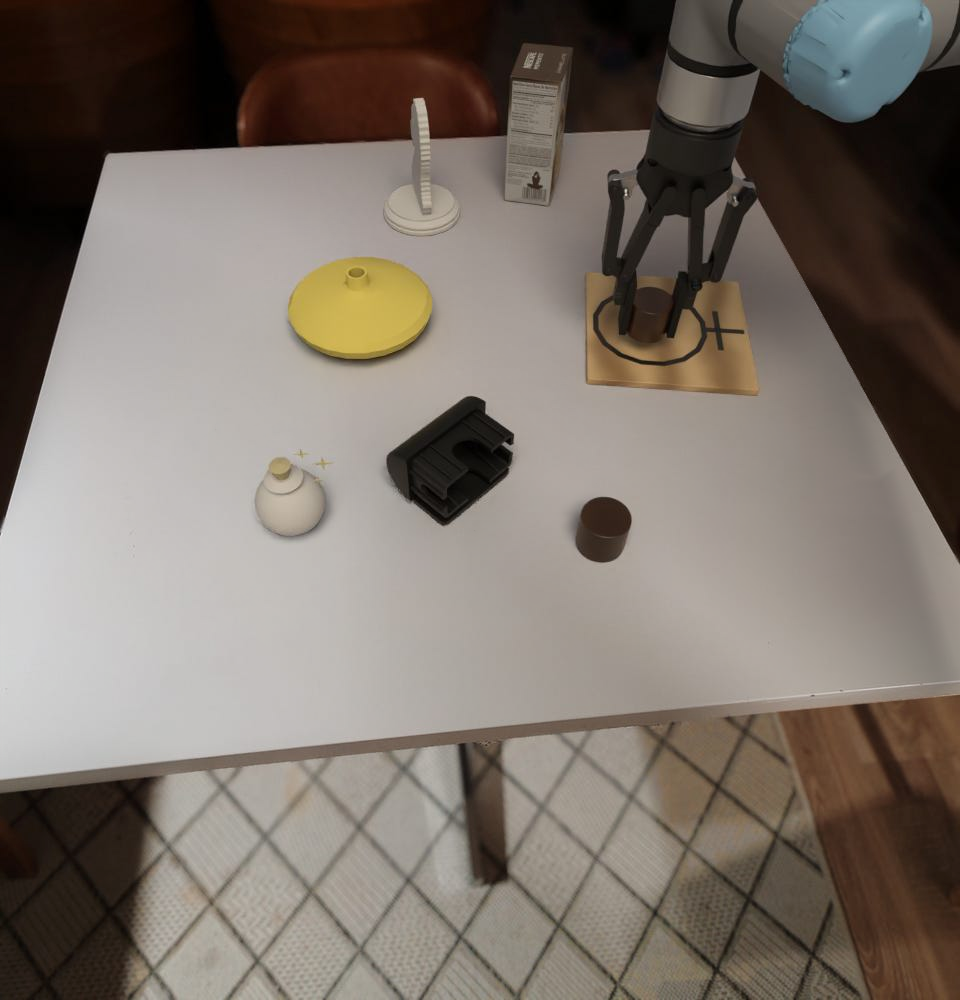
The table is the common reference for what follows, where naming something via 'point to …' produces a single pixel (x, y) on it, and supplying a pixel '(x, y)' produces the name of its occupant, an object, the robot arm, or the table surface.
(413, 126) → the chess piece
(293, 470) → the ornament
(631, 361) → the drawing board
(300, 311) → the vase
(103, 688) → the table surface
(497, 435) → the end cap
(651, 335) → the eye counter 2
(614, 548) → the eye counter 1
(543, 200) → the coffee box
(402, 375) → the table surface
